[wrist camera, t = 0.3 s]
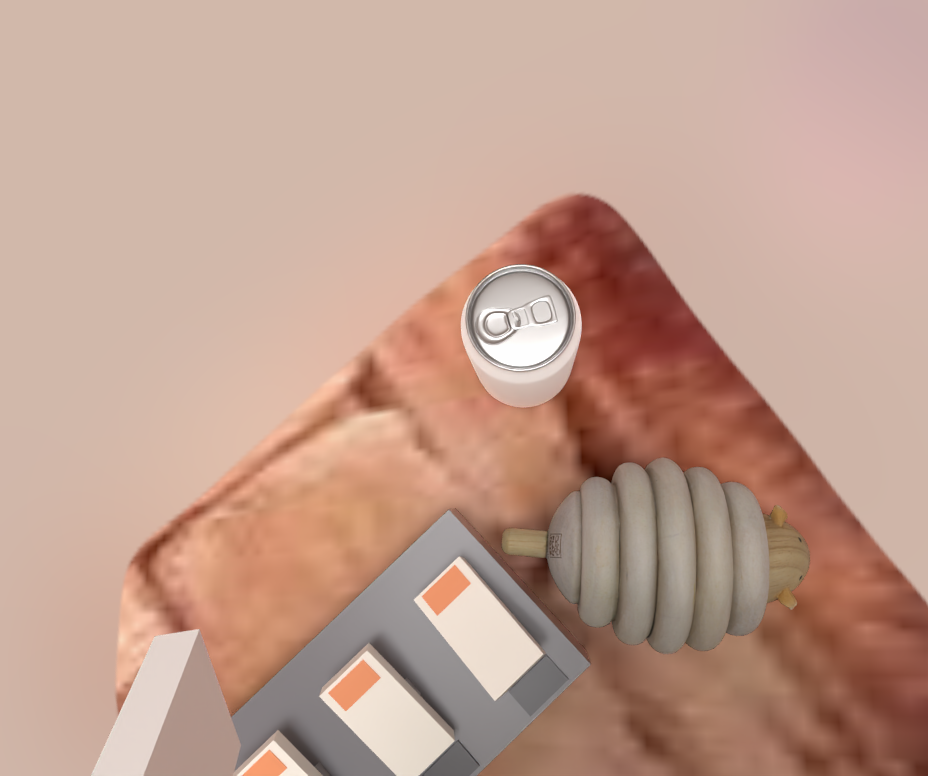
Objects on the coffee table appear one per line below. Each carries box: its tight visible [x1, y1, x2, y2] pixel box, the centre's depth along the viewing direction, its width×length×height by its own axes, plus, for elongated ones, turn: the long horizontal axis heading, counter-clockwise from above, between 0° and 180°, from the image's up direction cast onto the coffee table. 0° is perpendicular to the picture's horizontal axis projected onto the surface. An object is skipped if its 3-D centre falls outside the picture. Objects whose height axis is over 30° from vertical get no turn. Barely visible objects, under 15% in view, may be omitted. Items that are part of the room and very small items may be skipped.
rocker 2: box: [414, 556, 546, 701], centre depth 41 cm, size 7×4×2 cm, turn 43°
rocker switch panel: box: [231, 509, 591, 776], centre depth 44 cm, size 12×20×5 cm, turn 133°
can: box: [461, 264, 582, 408], centre depth 43 cm, size 6×6×12 cm
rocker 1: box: [319, 643, 455, 776], centre depth 41 cm, size 7×4×2 cm, turn 43°
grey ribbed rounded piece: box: [502, 458, 810, 654], centre depth 41 cm, size 11×17×11 cm, turn 92°
